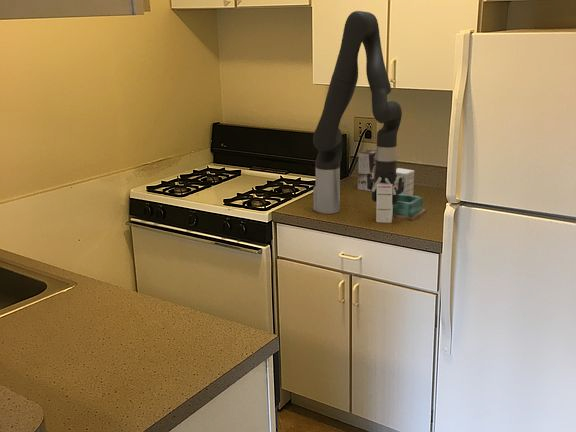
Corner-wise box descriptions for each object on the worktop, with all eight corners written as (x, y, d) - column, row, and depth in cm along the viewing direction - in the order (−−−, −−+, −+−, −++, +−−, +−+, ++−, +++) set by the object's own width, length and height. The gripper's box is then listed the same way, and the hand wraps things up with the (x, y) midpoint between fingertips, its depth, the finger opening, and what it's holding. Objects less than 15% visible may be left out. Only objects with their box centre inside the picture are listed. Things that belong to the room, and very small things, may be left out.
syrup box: (391, 223, 232) (393, 184, 228) (375, 222, 233) (376, 183, 229) (392, 218, 238) (393, 180, 233) (376, 217, 239) (377, 179, 234)
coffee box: (370, 191, 274) (371, 154, 269) (357, 189, 277) (357, 152, 272) (379, 186, 281) (381, 150, 276) (366, 184, 284) (367, 149, 279)
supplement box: (388, 201, 259) (389, 171, 255) (397, 197, 265) (398, 167, 261) (405, 204, 255) (406, 173, 251) (413, 200, 260) (414, 169, 256)
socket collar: (380, 215, 241) (381, 200, 239) (394, 206, 251) (395, 192, 249) (413, 221, 234) (413, 205, 232) (426, 211, 244) (427, 196, 243)
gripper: (363, 158, 229) (362, 202, 234) (400, 162, 222) (398, 208, 227) (372, 154, 235) (371, 197, 240) (409, 158, 228) (407, 202, 233)
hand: (384, 202), depth 233 cm, fingers closed on syrup box, 7 cm apart
